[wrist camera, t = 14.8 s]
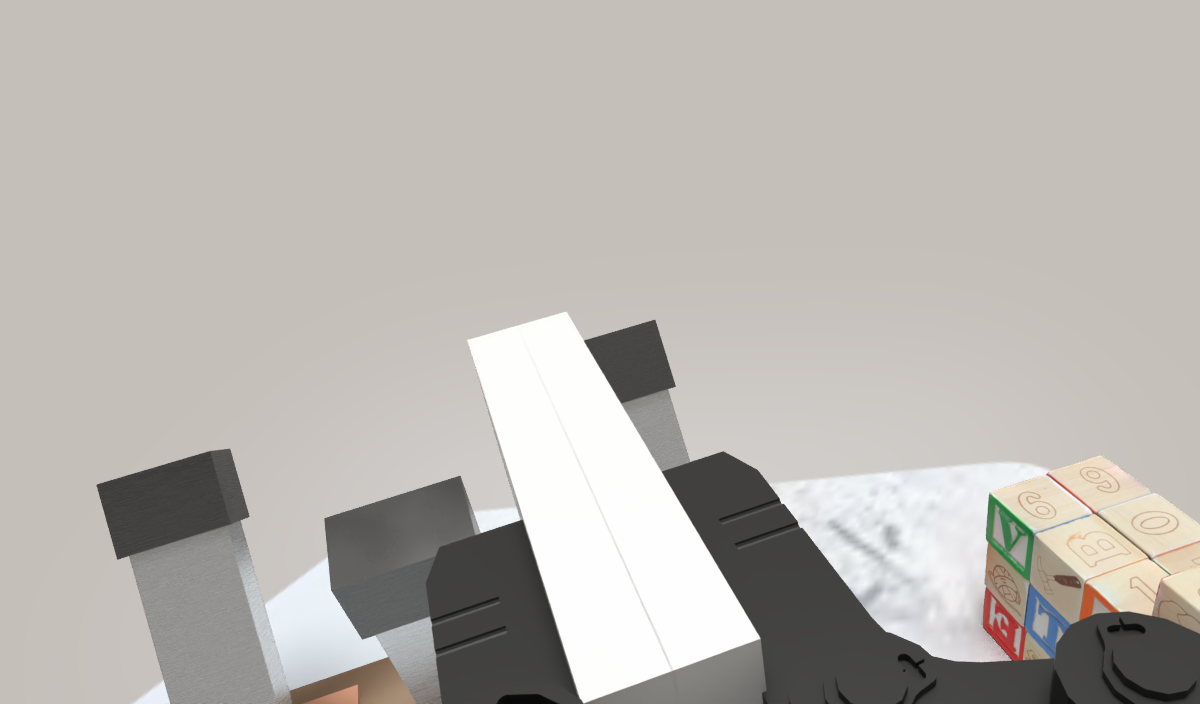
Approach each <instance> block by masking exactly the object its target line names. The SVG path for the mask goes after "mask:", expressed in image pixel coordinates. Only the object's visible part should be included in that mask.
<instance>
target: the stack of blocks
mask: <svg viewBox="0 0 1200 704" xmlns="http://www.w3.org/2000/svg"><path fill="white" fill-rule="evenodd" d="M986 540H987V541H988V549H987V561H986V575H985V585H986V590H985V599H984V610H983V627H984V628H985V629H986V630H987V631H988V632H989V633H990V635H991V636H992V637H993V638H994V639H995V640H996V641H997V643H998V644H999V645H1000V646H1001V647H1002V648H1003V649H1004V650H1005V652H1006V653H1007V654H1008V655H1009V656H1010V657H1011V659H1012V660H1013V661H1015V660H1033V659H1050V658H1054V657H1055V650H1056V643H1057V642H1058V641H1059V639H1060V638H1061V637H1062V635H1063V634H1064V633H1065V631H1066V630H1067V629H1068V628H1069V626H1070V625H1071V624H1073V623H1075V622H1078V621H1080V620H1082V619H1085V618H1087V617H1089V616H1091V615H1094V614H1096V613H1110V612H1126V611H1130V612H1135V613H1140V614H1145V615H1150V616H1155V617H1160V618H1165V619H1168V620H1170V621H1172V622H1175V623H1177V624H1179V625H1181V626H1184V627H1186V628H1188V629H1190V630H1192V631H1195V632H1197V633H1199V634H1200V524H1198V523H1197V522H1195V521H1194V520H1193V519H1191V518H1190V517H1189V516H1187V515H1186V514H1184V513H1183V512H1182V511H1180V510H1179V509H1178V508H1176V507H1175V506H1174V505H1172V504H1171V503H1170V502H1168V501H1167V500H1165V499H1164V498H1163V497H1161V496H1160V495H1158V494H1156V493H1152V492H1151V491H1150V490H1149V489H1148V488H1147V487H1145V486H1144V485H1143V484H1141V483H1140V482H1139V481H1137V480H1136V479H1134V478H1133V477H1131V476H1130V475H1129V474H1128V473H1126V472H1125V471H1124V470H1123V469H1121V468H1120V467H1118V466H1116V465H1115V464H1114V463H1112V462H1111V461H1109V459H1107V458H1106V457H1104V456H1102V455H1101V456H1097V457H1094V458H1091V459H1088V460H1085V461H1082V462H1079V463H1076V464H1072V465H1069V466H1066V467H1063V468H1060V469H1056V470H1053V471H1050V472H1048V473H1047V474H1046V475H1043V476H1039V477H1036V478H1032V479H1029V480H1026V481H1023V482H1020V483H1017V484H1014V485H1011V486H1008V487H1005V488H1002V489H999V490H996V491H993V492H990V494H989V502H988V514H987V528H986Z"/></svg>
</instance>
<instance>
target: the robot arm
mask: <svg viewBox="0 0 1200 704" xmlns="http://www.w3.org/2000/svg"><path fill="white" fill-rule="evenodd" d="M468 344H469V348H470V351H471V354H472V358H473V361H474V365H475V368H476V371H477V375H478V378H479V382H480V385H481V388H482V392H483V395H484V399H485V402H486V405H487V409H488V412H489V416H490V419H491V422H492V426H493V429H494V433H495V436H496V439H497V443H498V446H499V450H500V453H501V456H502V460H503V463H504V467H505V470H506V474H507V477H508V480H509V484H510V487H511V490H512V494H513V497H514V500H515V503H516V507H517V510H518V513H519V516H520V519H521V520H520V521H517V522H514V523H511V524H508V525H505V526H502V527H499V528H496V529H493V530H490V531H487V532H483V533H480V534H477V535H474V536H471V537H468V538H465V539H462V540H459V541H456V542H453V543H450V544H447V545H444V546H441V547H439V549H438V552H437V554H436V557H435V560H434V562H433V565H432V568H431V570H430V573H429V576H428V579H427V581H426V590H427V597H428V604H429V612H430V619H431V623H432V634H433V642H434V649H435V653H436V657H437V658H436V664H437V671H438V679H439V686H440V694H441V701H442V704H1200V634H1199V633H1197V632H1195V631H1192V630H1190V629H1188V628H1186V627H1184V626H1181V625H1179V624H1177V623H1175V622H1172V621H1170V620H1168V619H1165V618H1160V617H1155V616H1150V615H1145V614H1140V613H1135V612H1130V611H1126V612H1110V613H1096V614H1094V615H1091V616H1089V617H1087V618H1085V619H1082V620H1080V621H1078V622H1075V623H1073V624H1071V625H1070V626H1069V628H1068V629H1067V630H1066V631H1065V633H1064V634H1063V635H1062V637H1061V638H1060V639H1059V641H1058V642H1057V643H1056V650H1055V657H1054V658H1050V659H1033V660H1015V661H998V662H956V661H951V660H947V659H942V658H938V657H933V656H931V655H930V654H929V653H928V652H927V651H925V650H924V649H923V648H922V647H921V646H920V645H917V644H915V643H913V642H910V641H908V640H906V639H904V638H901V637H899V636H897V635H894V634H892V633H888V632H885V631H884V630H883V629H882V628H881V627H880V626H879V625H878V623H877V622H876V621H875V620H874V619H873V618H872V617H871V616H870V615H869V613H868V612H867V611H866V609H865V608H864V607H863V606H862V604H861V603H860V602H859V600H858V599H857V598H856V597H855V595H854V594H853V593H852V591H851V590H850V589H849V587H848V586H847V585H846V584H845V582H844V581H843V580H842V578H841V577H840V576H839V575H838V573H837V572H836V571H835V569H834V568H833V567H832V566H831V564H830V563H829V562H828V560H827V559H826V558H825V556H824V555H823V554H822V553H821V551H820V550H819V549H818V547H817V546H816V545H815V544H814V542H813V541H812V540H811V538H810V537H809V536H808V534H807V533H806V532H805V531H804V529H803V528H800V527H799V525H798V522H797V520H796V519H795V518H794V516H793V515H792V514H791V512H790V511H789V510H788V509H787V507H786V506H785V505H784V504H781V502H780V498H779V497H778V496H777V494H776V493H775V492H774V491H773V489H772V488H771V487H770V485H769V484H768V483H767V481H766V480H765V479H764V478H763V476H762V475H761V474H760V472H759V471H758V470H757V469H755V468H753V467H751V466H749V465H747V464H746V463H744V462H742V461H740V460H738V459H736V458H735V457H733V456H731V455H729V454H727V453H725V452H720V453H717V454H714V455H711V456H708V457H705V458H702V459H699V460H695V461H692V462H689V463H686V464H683V465H680V466H677V467H674V468H671V469H668V470H665V471H662V472H661V470H660V469H659V467H658V465H657V464H656V462H655V460H654V458H653V457H652V455H651V453H650V452H649V450H648V448H647V447H646V445H645V443H644V442H643V440H642V438H641V437H640V435H639V433H638V432H637V430H636V428H635V427H634V425H633V423H632V421H631V420H630V418H629V416H628V415H627V413H626V411H625V410H624V408H623V406H622V405H621V403H620V401H619V400H618V398H617V396H616V395H615V393H614V391H613V389H612V388H611V386H610V384H609V383H608V381H607V379H606V378H605V376H604V374H603V373H602V371H601V369H600V368H599V366H598V364H597V363H596V361H595V359H594V358H593V356H592V354H591V352H590V351H589V349H588V347H587V346H586V344H585V342H584V341H583V339H582V337H581V336H580V334H579V332H578V331H577V329H576V327H575V326H574V324H573V322H572V321H571V319H570V317H569V315H568V314H567V312H563V313H560V314H557V315H553V316H549V317H546V318H543V319H539V320H536V321H532V322H529V323H525V324H522V325H518V326H515V327H512V328H508V329H504V330H501V331H497V332H494V333H491V334H487V335H484V336H480V337H477V338H473V339H470V340H468Z"/></svg>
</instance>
